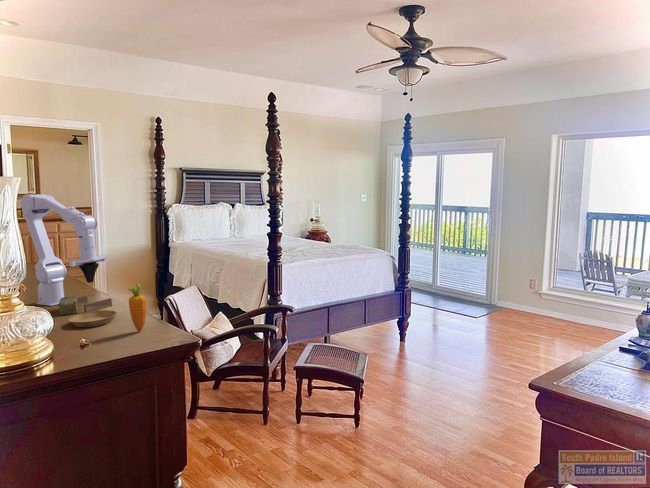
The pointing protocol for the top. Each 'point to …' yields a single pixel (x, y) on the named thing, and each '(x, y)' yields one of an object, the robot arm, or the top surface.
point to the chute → (94, 304)
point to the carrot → (137, 307)
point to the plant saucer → (92, 318)
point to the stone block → (68, 305)
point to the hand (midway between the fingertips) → (90, 282)
